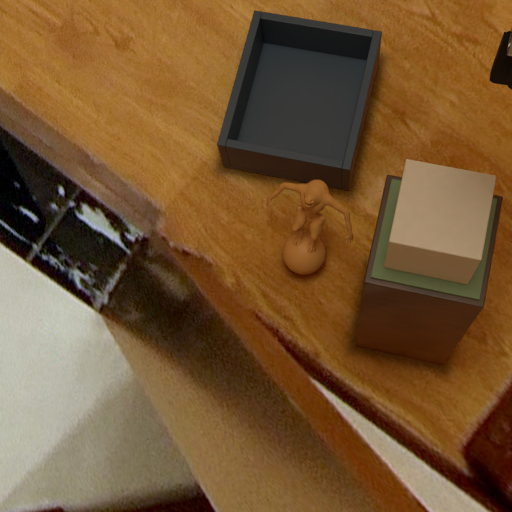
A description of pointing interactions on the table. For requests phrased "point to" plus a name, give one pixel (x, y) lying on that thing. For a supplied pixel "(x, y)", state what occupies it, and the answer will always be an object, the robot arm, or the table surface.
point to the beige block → (440, 221)
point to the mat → (420, 281)
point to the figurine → (305, 243)
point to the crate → (300, 99)
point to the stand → (416, 308)
